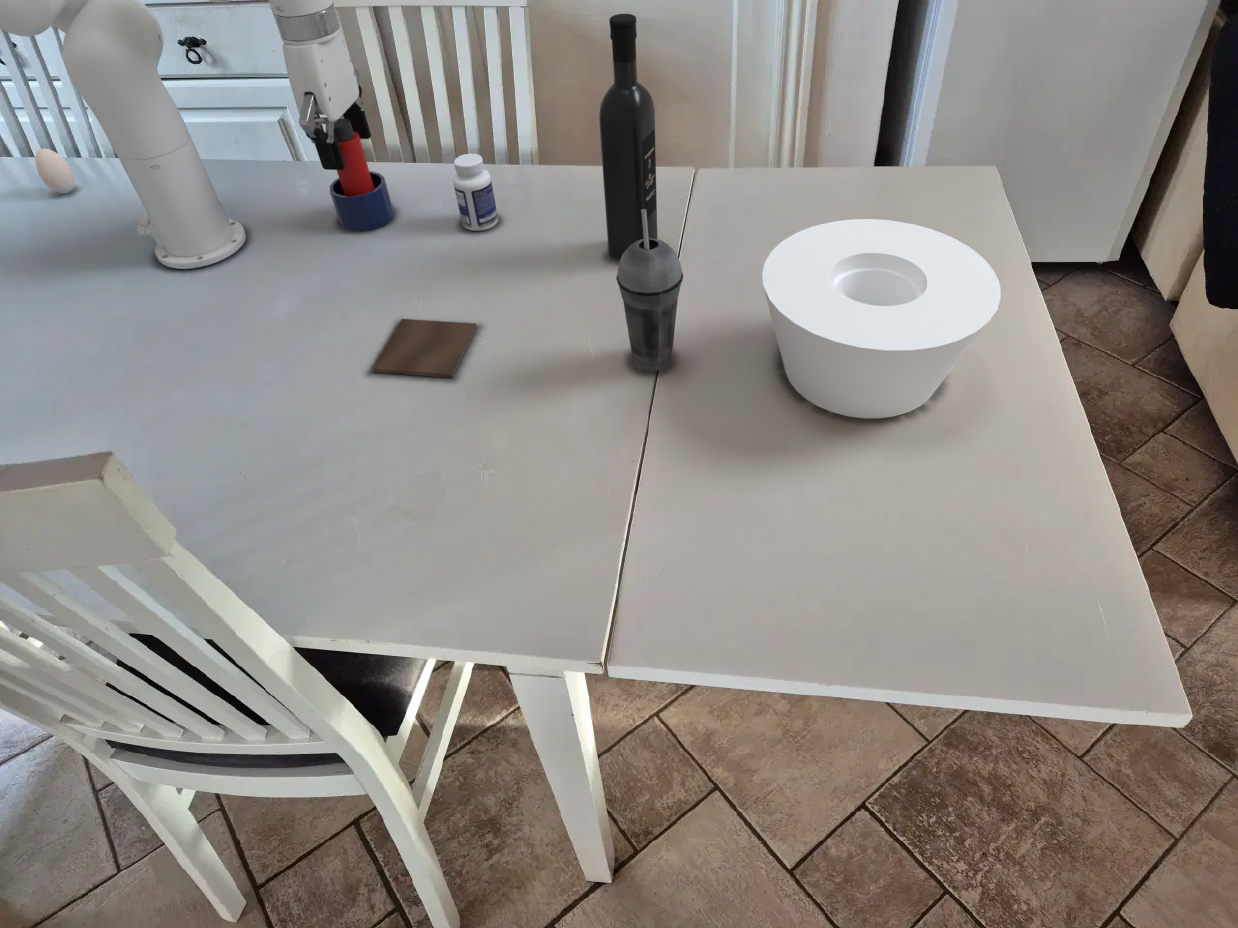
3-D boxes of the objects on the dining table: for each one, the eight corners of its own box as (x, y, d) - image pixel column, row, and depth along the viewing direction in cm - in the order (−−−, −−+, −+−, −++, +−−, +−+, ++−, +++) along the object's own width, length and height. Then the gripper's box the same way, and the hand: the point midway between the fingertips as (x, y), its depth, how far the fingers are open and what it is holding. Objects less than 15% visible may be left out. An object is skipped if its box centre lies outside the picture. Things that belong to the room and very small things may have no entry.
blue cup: (332, 230, 121) (320, 196, 117) (353, 203, 127) (342, 170, 123) (382, 232, 120) (372, 198, 116) (401, 205, 126) (392, 172, 122)
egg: (86, 191, 135) (62, 148, 129) (58, 202, 132) (32, 158, 127) (75, 182, 137) (51, 140, 132) (47, 193, 135) (21, 150, 130)
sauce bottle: (347, 221, 122) (317, 130, 112) (358, 207, 125) (330, 116, 115) (374, 223, 121) (346, 130, 111) (385, 208, 124) (359, 117, 114)
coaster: (373, 372, 98) (372, 368, 97) (402, 322, 104) (401, 318, 104) (452, 378, 96) (451, 374, 96) (477, 327, 103) (476, 323, 102)
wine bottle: (660, 245, 114) (655, 11, 92) (643, 266, 110) (635, 28, 89) (623, 238, 116) (610, 7, 94) (606, 258, 112) (588, 23, 90)
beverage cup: (690, 345, 98) (692, 191, 83) (673, 384, 93) (671, 227, 79) (632, 336, 100) (624, 183, 85) (613, 373, 95) (601, 218, 81)
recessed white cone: (961, 461, 82) (994, 370, 74) (731, 415, 89) (737, 326, 80) (977, 324, 98) (1006, 235, 89) (779, 293, 104) (788, 207, 96)
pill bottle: (501, 213, 122) (491, 150, 115) (494, 232, 119) (482, 168, 111) (467, 213, 123) (454, 151, 116) (458, 232, 119) (444, 168, 112)
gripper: (309, 0, 110) (347, 126, 123) (248, 48, 98) (297, 181, 111) (361, 0, 109) (394, 127, 121) (305, 48, 97) (348, 183, 110)
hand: (348, 153), depth 116 cm, fingers open, 9 cm apart
